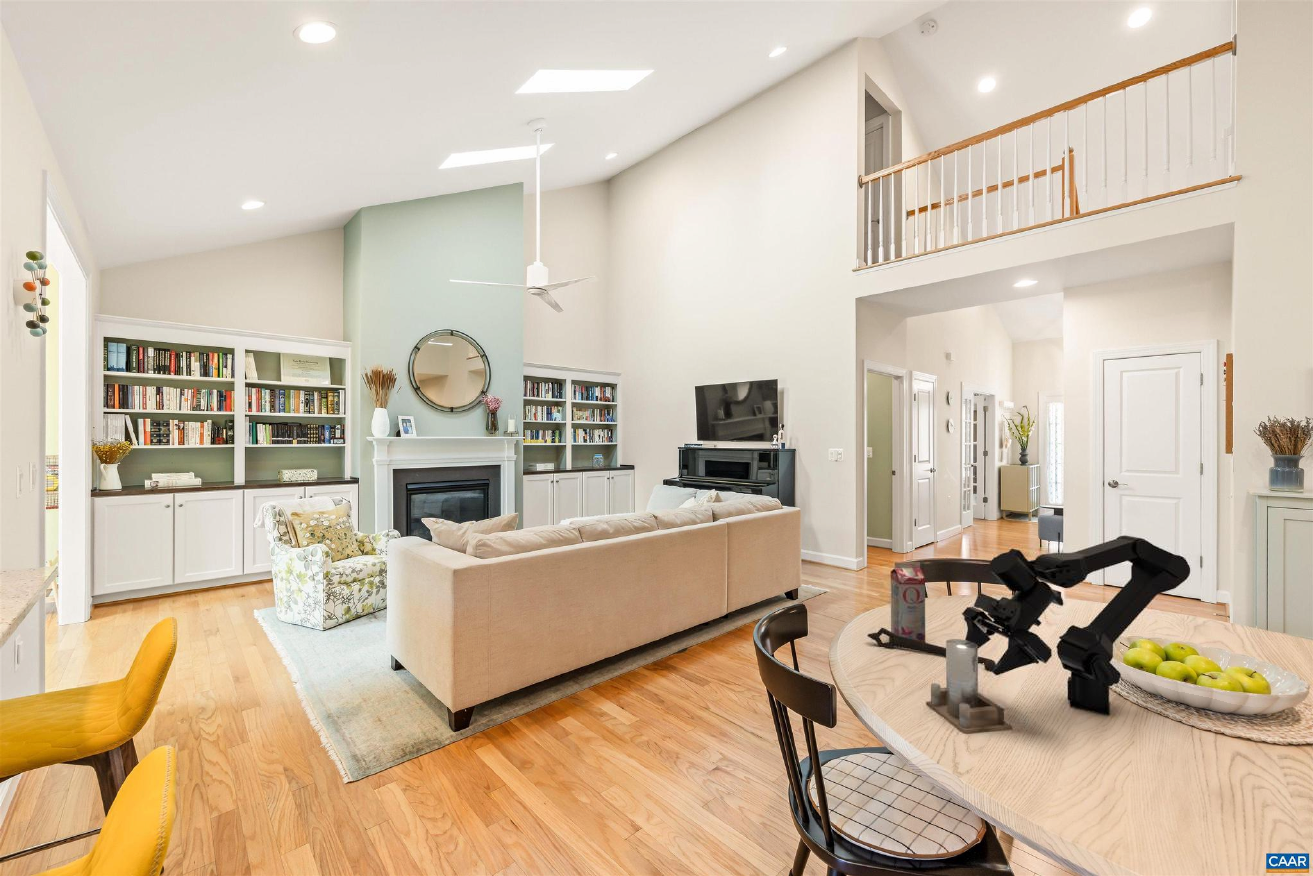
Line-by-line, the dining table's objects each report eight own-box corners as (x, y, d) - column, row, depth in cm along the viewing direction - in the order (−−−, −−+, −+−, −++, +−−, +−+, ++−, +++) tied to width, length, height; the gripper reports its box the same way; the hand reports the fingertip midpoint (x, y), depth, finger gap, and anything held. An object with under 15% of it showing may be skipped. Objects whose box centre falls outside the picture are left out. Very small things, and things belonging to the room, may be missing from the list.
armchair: (969, 700, 122) (969, 679, 122) (1012, 729, 110) (1011, 705, 110) (926, 704, 121) (925, 682, 121) (964, 733, 109) (964, 709, 109)
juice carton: (925, 648, 153) (924, 565, 153) (899, 647, 153) (898, 565, 153) (915, 639, 159) (915, 559, 159) (891, 639, 160) (890, 559, 160)
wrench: (994, 681, 137) (863, 647, 153) (995, 675, 141) (868, 643, 157) (996, 659, 137) (865, 628, 153) (997, 653, 141) (869, 624, 157)
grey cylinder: (965, 706, 119) (965, 638, 119) (984, 719, 113) (984, 648, 113) (940, 708, 118) (940, 639, 118) (958, 721, 112) (957, 649, 112)
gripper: (969, 569, 126) (923, 623, 124) (1036, 592, 107) (983, 655, 106) (1002, 603, 127) (957, 656, 126) (1075, 631, 109) (1023, 694, 107)
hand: (977, 664), depth 116 cm, fingers open, 9 cm apart
